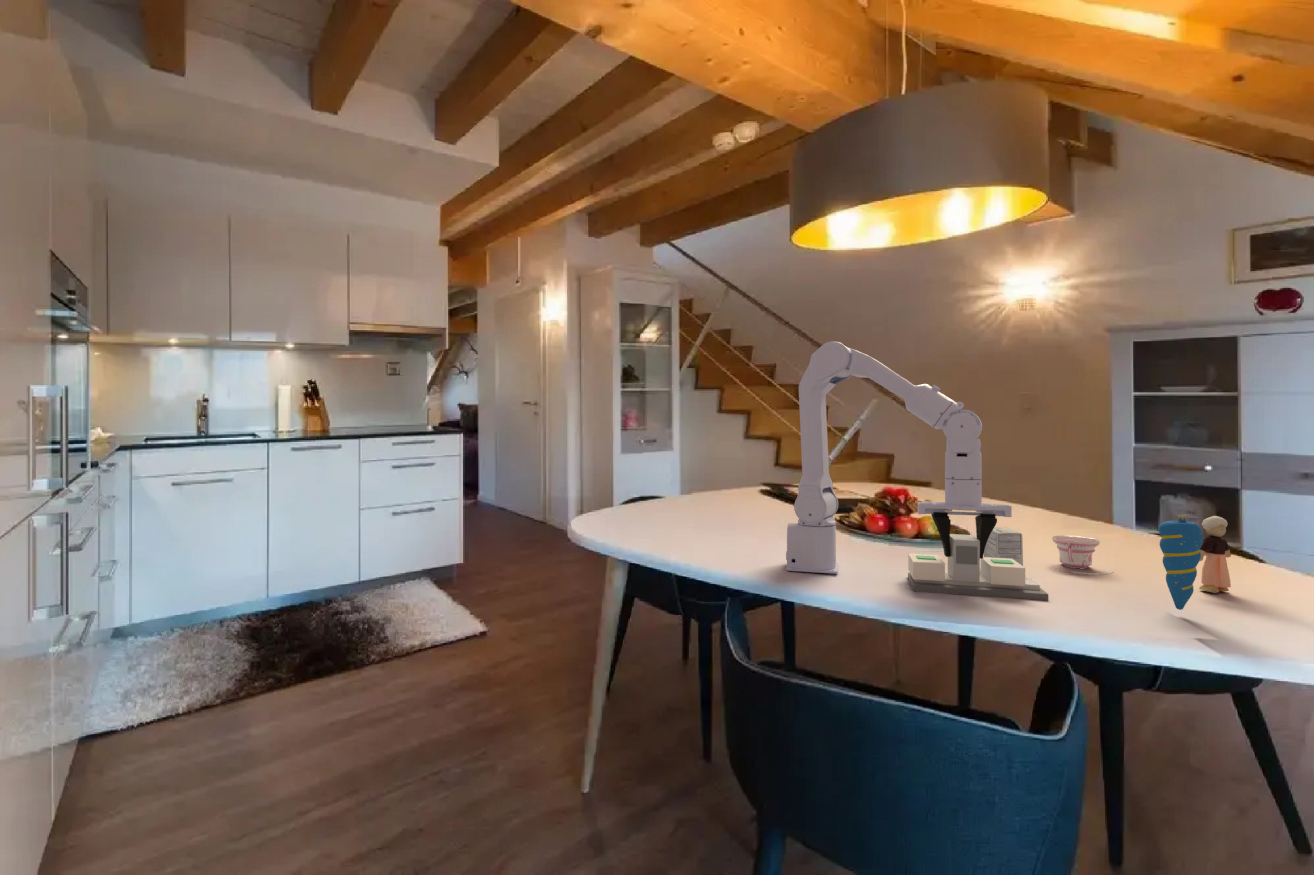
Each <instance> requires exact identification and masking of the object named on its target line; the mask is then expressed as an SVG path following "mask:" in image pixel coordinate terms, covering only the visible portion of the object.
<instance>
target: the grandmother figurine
mask: <svg viewBox="0 0 1314 875" xmlns="http://www.w3.org/2000/svg"><path fill="white" fill-rule="evenodd" d="M1228 525H1229V524H1228V521H1227V519H1225V518H1223V517H1221V516H1218V515H1212V516H1210V517H1207V518H1205V519H1203V520H1202V523H1201V527H1202V528H1203V529H1205V532H1206V534H1208V535H1207V536H1206V537H1204V538H1203V543H1202V546H1201V548H1200V550H1199V551H1200V553H1201V558H1200V561H1199V562H1202V561H1203V560H1204V557H1205V560H1204V562H1203V565H1202V568H1201V580H1200V582H1201V584H1202V585H1200V586H1199V587H1198V590H1201V591H1205V592H1209V593H1220V592H1228V591H1230V590H1229V588H1232V585H1231V584H1232V583H1231V578H1230V572H1229V571H1230V570H1229V567H1228V562H1227V558H1231V556H1232V553H1231V551H1230V546H1229V544H1228V542H1227V540H1226V538H1223V536H1225V534H1226V533H1227V527H1228Z"/></svg>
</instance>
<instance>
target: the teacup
mask: <svg viewBox="0 0 1314 875" xmlns="http://www.w3.org/2000/svg"><path fill="white" fill-rule="evenodd" d="M1051 538H1052V539H1051V540H1052V542H1053V543H1055V545H1057V546H1056V548H1057V549H1058V551H1059V557H1058V558H1059V562H1060V563H1061V564H1063V566H1064V567H1067V568H1070V569H1076V568H1080V569H1079V570H1084V568H1086V569H1087V568H1088V567H1090V566H1092V565H1093V554H1094V552H1096V550H1095V548H1096V547H1099V545H1100V540H1099V539H1097V538H1094V537H1091V536H1089V537H1088V536H1083V535H1082V536H1081V535H1066V534H1065V535H1062V534H1061V535H1054V536H1052V537H1051ZM1048 568H1049V569H1052V570H1055V571H1060V572H1064V573H1069V572H1071V573H1070V574H1076V573H1078V574H1077V575H1085V574H1087V575H1094V576H1095V575H1096V576H1097V575H1100V576H1101V575H1102V576H1103V575H1111V574H1114V573H1115V569H1112V568H1111V571H1109V572H1103V573H1101V572H1100V573H1097V572H1095V573H1093V572H1091V573H1090V572H1078V571H1070V570H1064V569H1058V568H1054V567H1049V566H1048ZM1106 568H1108V569H1109V568H1110V567H1108V566H1106Z"/></svg>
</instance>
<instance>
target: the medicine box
mask: <svg viewBox="0 0 1314 875" xmlns="http://www.w3.org/2000/svg"><path fill="white" fill-rule="evenodd" d="M1023 549H1024V548H1023V533H1021V532H1019V531H1017V530H1015V529H1012V528H1009V527H1006V526H1005V527H1004V526H1003V527H1001V526H995V527H994V528H993V530H992V532H991V534H990V536H989V538H988V541H987V543H986V546H985V550H984V554H983V557H991V558H1010V559H1013V560H1015V561H1016V562H1018V563H1019V564H1020V565H1022V566H1023V567H1024V552H1023V551H1024V550H1023Z"/></svg>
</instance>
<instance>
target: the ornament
mask: <svg viewBox="0 0 1314 875" xmlns="http://www.w3.org/2000/svg"><path fill="white" fill-rule="evenodd" d="M1177 519H1178V520H1166V521H1163V522H1161V523H1160V524H1159V525H1158V533H1159V535H1160V540H1159V548H1160V550H1161V553H1162V554H1163V557H1162V565H1163V567H1164V569H1165V572H1166V574H1165V582H1166V585H1167V588H1168V590H1169V593H1170V596H1171V598H1172V601H1173V605H1174V606H1175V608H1176V609H1177V610H1179V611H1182V610H1184V608H1185V606H1186V604H1187V603H1188V602H1189V601H1190V599H1191V597H1193V596H1192V595H1193V594H1194V582H1195V580H1196V577H1197V576H1198V570H1197V566H1198V564H1199V563H1200V562H1201V561H1200V558H1201V553H1200V551H1199V550H1200V548H1201V546H1202V543H1203V541H1204V534H1203V531H1202V528H1201V527H1200V525H1199V524H1198V523H1197V522H1192V521H1187V515H1185V512H1183V515H1181V514H1179V515H1177Z"/></svg>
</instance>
